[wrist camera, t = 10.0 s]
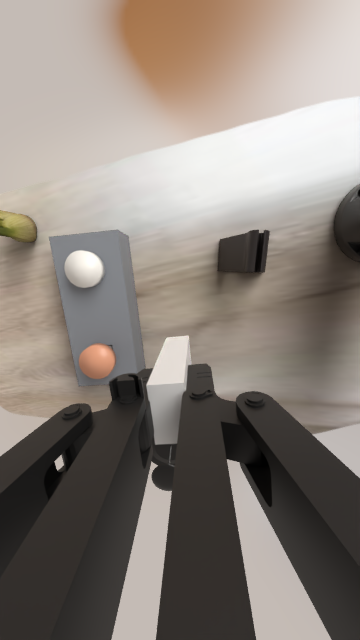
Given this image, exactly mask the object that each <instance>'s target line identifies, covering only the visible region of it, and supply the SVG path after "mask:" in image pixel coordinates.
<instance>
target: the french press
mask: <svg viewBox="0 0 360 640" xmlns="http://www.w3.org/2000/svg"><path fill="white" fill-rule="evenodd" d="M152 448H153V456H152V462H153V463H155V464H157V465H158V466H157V467H156V468H155V469H154V470H153V472H152V481H153V483H154V484H155V486H156V487H158V488H159V489H162V490H165V491H172V486H173V477H174V467H175V458H176V449H177V444H158V445H155V439H154V435H153V439H152Z"/></svg>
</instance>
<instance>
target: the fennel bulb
mask: <svg viewBox="0 0 360 640" xmlns="http://www.w3.org/2000/svg"><path fill="white" fill-rule="evenodd" d="M36 234H37V227H36V224H35V222H34V221H33V220H32V219H31V218H30V217H28V216H26V215H22V214H16V213H11V212H6V211H1V210H0V236H6V237H11V238H12V239H14V240H16V241H19V242H33V241H35V240H36Z"/></svg>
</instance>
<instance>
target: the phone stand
mask: <svg viewBox="0 0 360 640" xmlns="http://www.w3.org/2000/svg"><path fill="white" fill-rule="evenodd" d="M269 233H270V231H267V230H264V233H259V230H252V231H249V232H248V233H245V234H241V235H237V236H233V237H229V238H224V239H220V249H219V262H218V271H235V272H257V273H263V272H265V266H266V258H267V249H268V241H269Z"/></svg>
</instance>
